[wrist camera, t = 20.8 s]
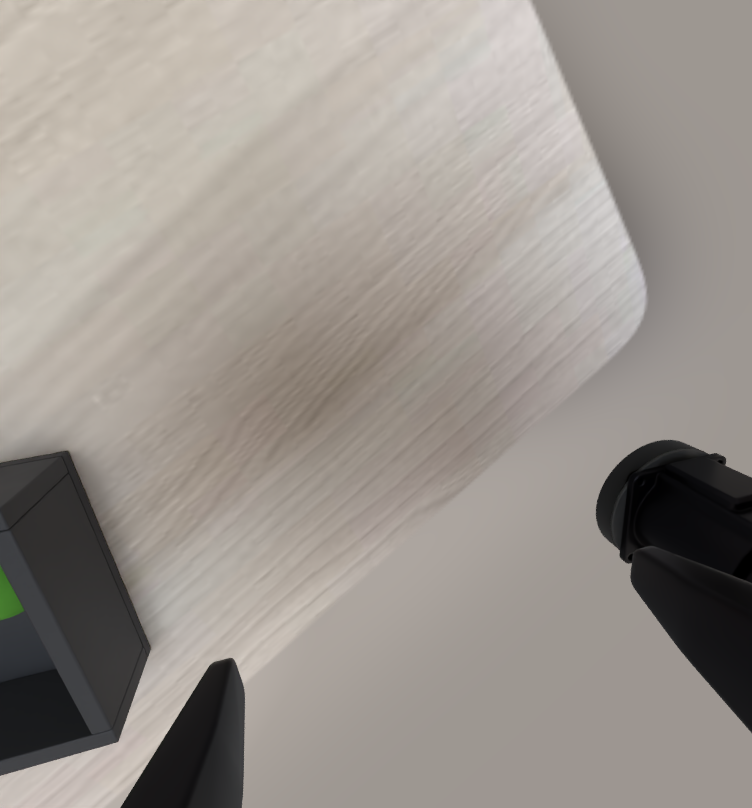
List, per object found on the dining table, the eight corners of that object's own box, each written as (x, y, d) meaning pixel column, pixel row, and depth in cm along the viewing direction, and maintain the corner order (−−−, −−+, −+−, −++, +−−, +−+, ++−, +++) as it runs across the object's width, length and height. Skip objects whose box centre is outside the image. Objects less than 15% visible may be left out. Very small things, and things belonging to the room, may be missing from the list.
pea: (70, 562, 19) (74, 606, 16) (-29, 604, 17) (-44, 663, 14) (41, 498, 18) (39, 535, 15) (-70, 536, 16) (-94, 586, 13)
